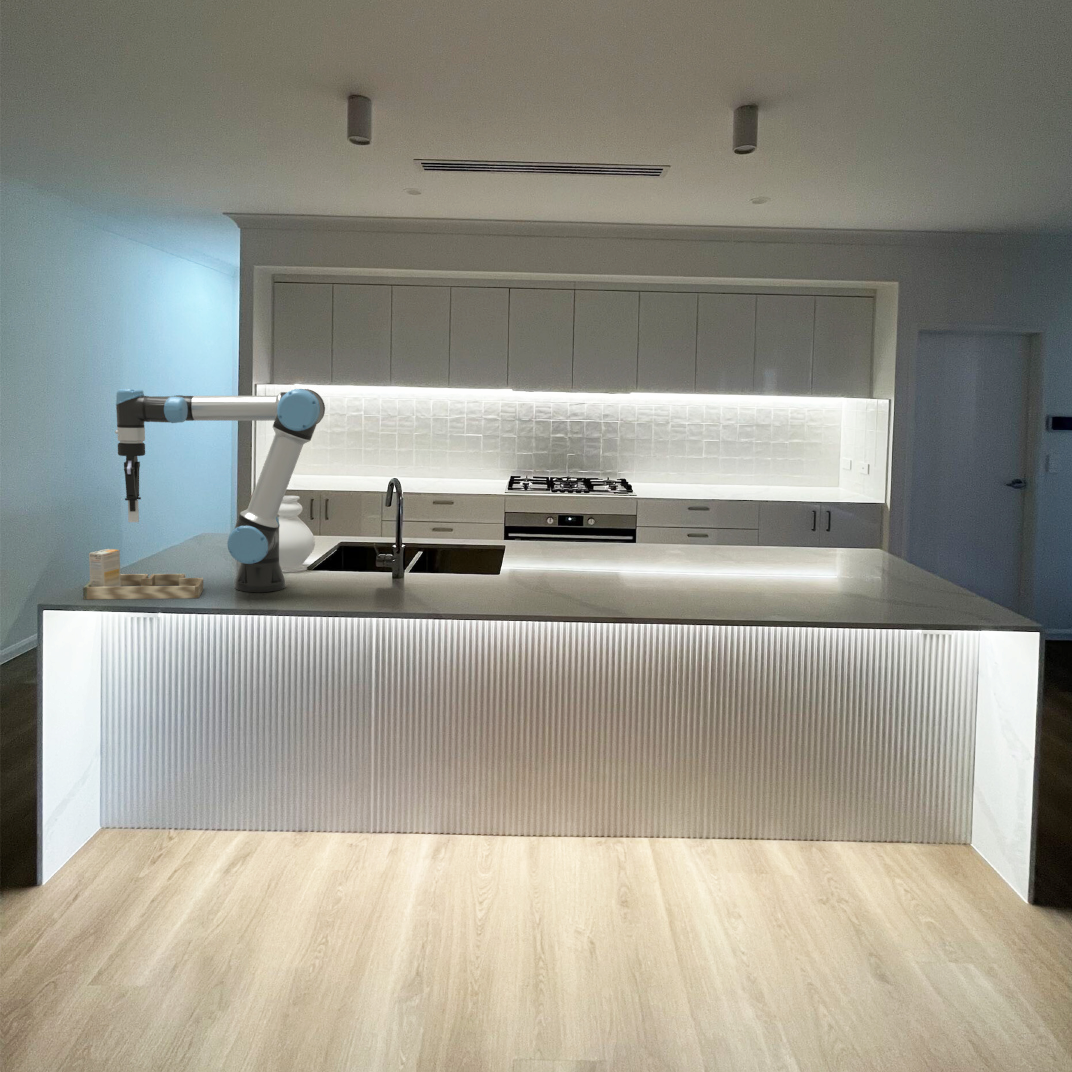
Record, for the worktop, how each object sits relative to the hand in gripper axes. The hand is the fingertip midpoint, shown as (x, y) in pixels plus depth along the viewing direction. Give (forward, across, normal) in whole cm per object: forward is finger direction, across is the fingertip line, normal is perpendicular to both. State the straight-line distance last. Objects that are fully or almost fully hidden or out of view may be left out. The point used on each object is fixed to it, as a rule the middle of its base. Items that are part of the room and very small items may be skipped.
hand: (133, 521), depth 318 cm
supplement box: (+22, 0, -9) cm, 24 cm away
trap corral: (+22, -4, +3) cm, 22 cm away
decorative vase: (+22, -41, +44) cm, 64 cm away
